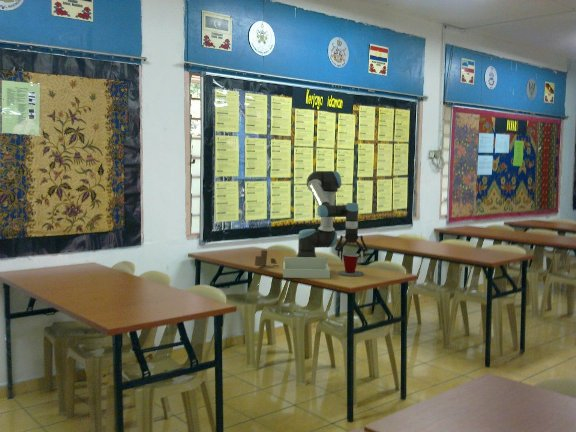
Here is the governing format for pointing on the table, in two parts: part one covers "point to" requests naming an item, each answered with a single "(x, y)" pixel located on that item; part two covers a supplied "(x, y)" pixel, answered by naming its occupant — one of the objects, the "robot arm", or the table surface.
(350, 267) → the plastic cup
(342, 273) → the saucer
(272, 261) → the wooden block set
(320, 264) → the light grey tray
